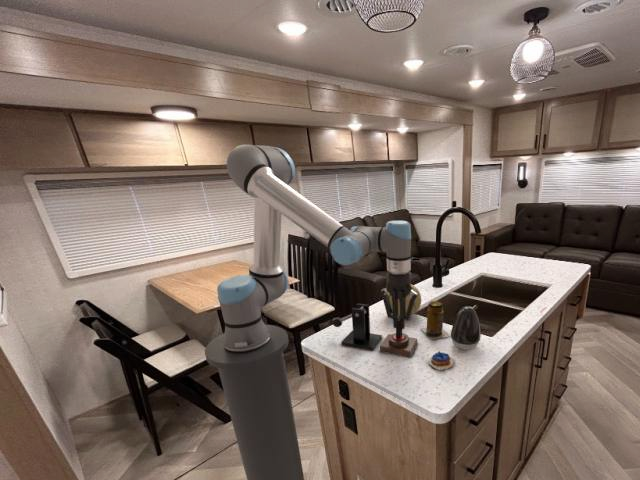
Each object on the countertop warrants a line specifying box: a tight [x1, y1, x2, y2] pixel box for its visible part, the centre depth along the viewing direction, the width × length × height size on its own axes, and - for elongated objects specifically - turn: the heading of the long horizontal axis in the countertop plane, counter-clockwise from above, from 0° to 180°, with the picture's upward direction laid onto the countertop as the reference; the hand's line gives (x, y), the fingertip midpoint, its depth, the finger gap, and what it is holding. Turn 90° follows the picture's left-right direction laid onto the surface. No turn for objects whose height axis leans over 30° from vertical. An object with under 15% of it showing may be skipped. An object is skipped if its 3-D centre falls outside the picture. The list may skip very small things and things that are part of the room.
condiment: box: [421, 300, 449, 340], centre depth 120 cm, size 7×8×12 cm
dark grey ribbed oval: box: [450, 304, 482, 351], centre depth 110 cm, size 10×10×15 cm
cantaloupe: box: [388, 283, 422, 318], centre depth 133 cm, size 15×15×15 cm
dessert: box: [428, 350, 454, 371], centre depth 103 cm, size 8×7×6 cm
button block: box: [379, 332, 418, 357], centre depth 112 cm, size 11×9×4 cm
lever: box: [332, 306, 366, 328], centre depth 114 cm, size 14×4×4 cm, turn 71°
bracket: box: [340, 303, 383, 351], centre depth 114 cm, size 12×9×14 cm
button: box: [393, 335, 405, 341], centre depth 111 cm, size 4×4×2 cm
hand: (399, 336), depth 111 cm, fingers closed
